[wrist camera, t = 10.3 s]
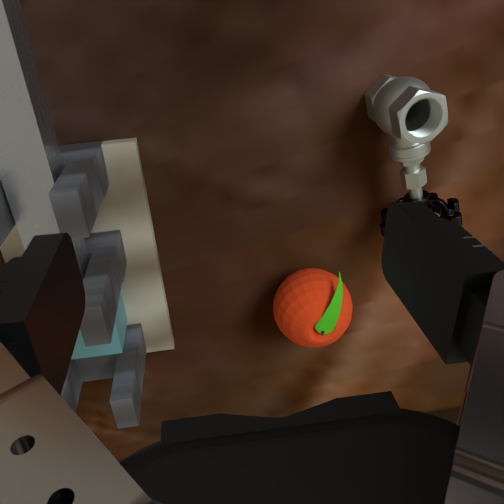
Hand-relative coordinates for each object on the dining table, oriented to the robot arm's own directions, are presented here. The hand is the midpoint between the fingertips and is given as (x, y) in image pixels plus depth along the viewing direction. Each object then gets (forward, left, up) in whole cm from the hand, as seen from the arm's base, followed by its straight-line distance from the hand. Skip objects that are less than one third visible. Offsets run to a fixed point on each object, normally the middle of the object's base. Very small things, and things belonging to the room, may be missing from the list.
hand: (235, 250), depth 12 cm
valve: (+6, +15, -26) cm, 31 cm away
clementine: (+19, +8, -26) cm, 33 cm away
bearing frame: (+14, -11, -26) cm, 31 cm away
